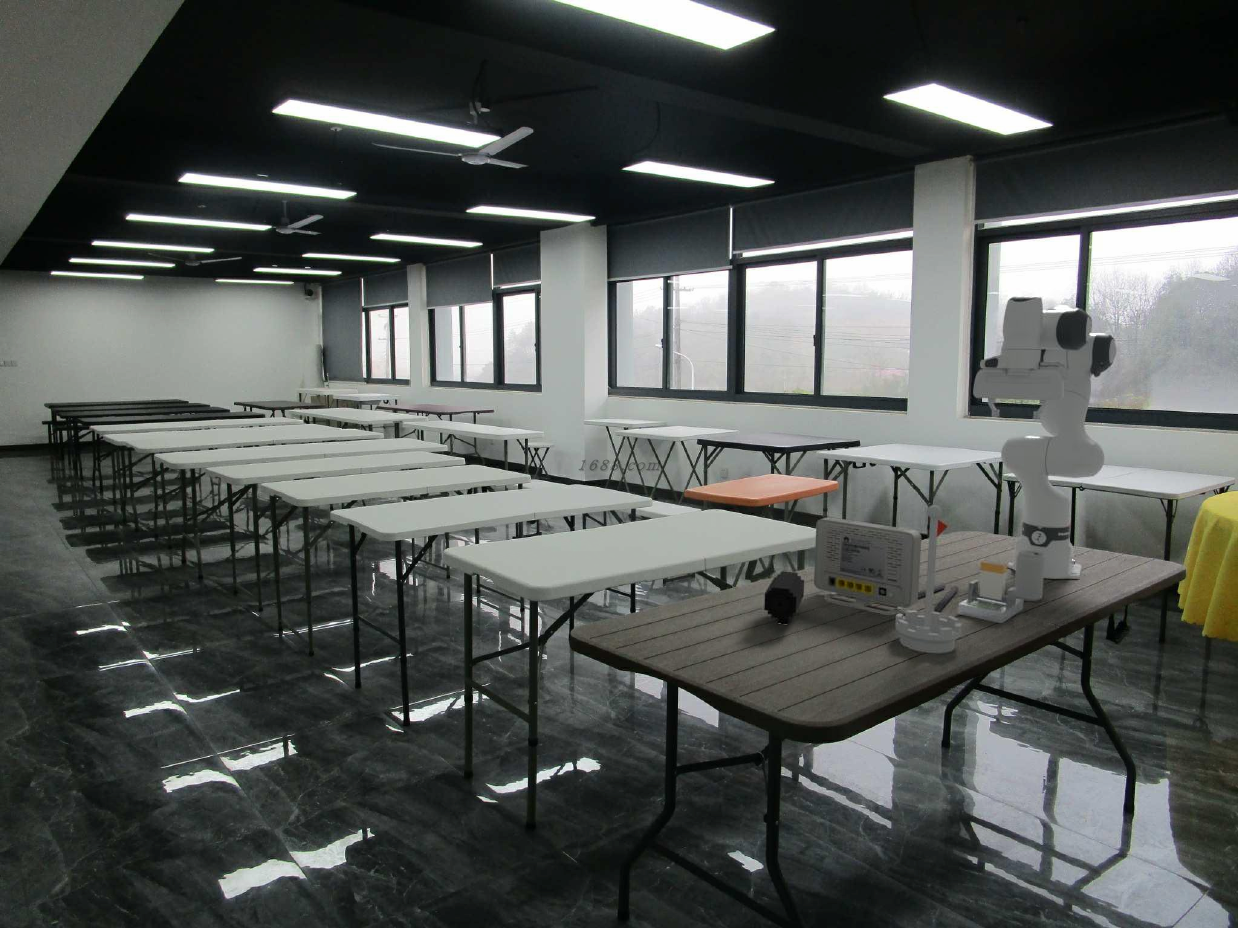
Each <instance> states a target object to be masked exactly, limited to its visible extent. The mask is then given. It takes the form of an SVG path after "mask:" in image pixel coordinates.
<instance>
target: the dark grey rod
mask: <svg viewBox="0 0 1238 928" xmlns="http://www.w3.org/2000/svg"><path fill="white" fill-rule="evenodd" d="M958 590H959V587H958V586H957V585H954V586H952V587H951V588H950V590H949V591H948V592H947V593H946V594H945V595H944V596H943V598H941V600H939V602H938V603H937V605H935V607H933V612H938V613H941V612H940V611H941V610H943V609H944V607H945V606H946V604H947V603H949V601H950V600H951V599H952V598H953V596H954V595H955V594H956V593H957V592H958Z"/></svg>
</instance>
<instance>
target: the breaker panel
mask: <svg viewBox="0 0 1238 928" xmlns="http://www.w3.org/2000/svg"><path fill="white" fill-rule="evenodd" d="M1016 590H1017V588H1015V586H1011V587H1010V588H1008V589H1007V590H1006V596H1007V600H1006V603H1002V602H997V601H992V600H987V599H982V598H977V597H975V593H976V591H979V580H977V579H976V580H975V579H973V580H972V581H970V582H968V591H967V592H968V593H967V598H966V599H965V600H962V601H961V602H959V603H958V608H957V614H958V615H962V616H967V617H971V618H975V619H979V620H984V621H990V622H994V623H998V624H1004V622H1007V620H1009V619H1011V618H1013V616H1015V615H1016V614H1018V613H1020V612H1021V611H1022V610H1024V602H1025V601H1024V599H1020V598H1017V597H1016Z"/></svg>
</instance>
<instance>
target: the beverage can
mask: <svg viewBox="0 0 1238 928" xmlns="http://www.w3.org/2000/svg"><path fill="white" fill-rule="evenodd" d="M1043 555H1044V554H1043V553H1041V552H1037V551H1029V550H1022V551H1019V554H1018V555H1017V559H1016V571H1015V576H1014V587H1015V588H1017V590H1016V598H1020V599H1024V601H1023V602H1025V601H1026V602H1038V601H1040V600H1041V599H1042V598H1043V590H1044V589H1043V588H1044V579H1045V578H1044V564H1045V558H1044V557H1043Z"/></svg>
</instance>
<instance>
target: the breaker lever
mask: <svg viewBox="0 0 1238 928" xmlns="http://www.w3.org/2000/svg"><path fill="white" fill-rule="evenodd" d="M1007 564H1008V563H1003V562H998V561H993V560H986V559H984V560H982V561H980V580H979V582H980V584H979V590H978V591H976V593H975V597H977V598H982V599H987V600H992V601H997V602H1002V603H1006V600H1007V595H1005V592H1006V577H1007V571H1008V567H1007Z"/></svg>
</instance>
